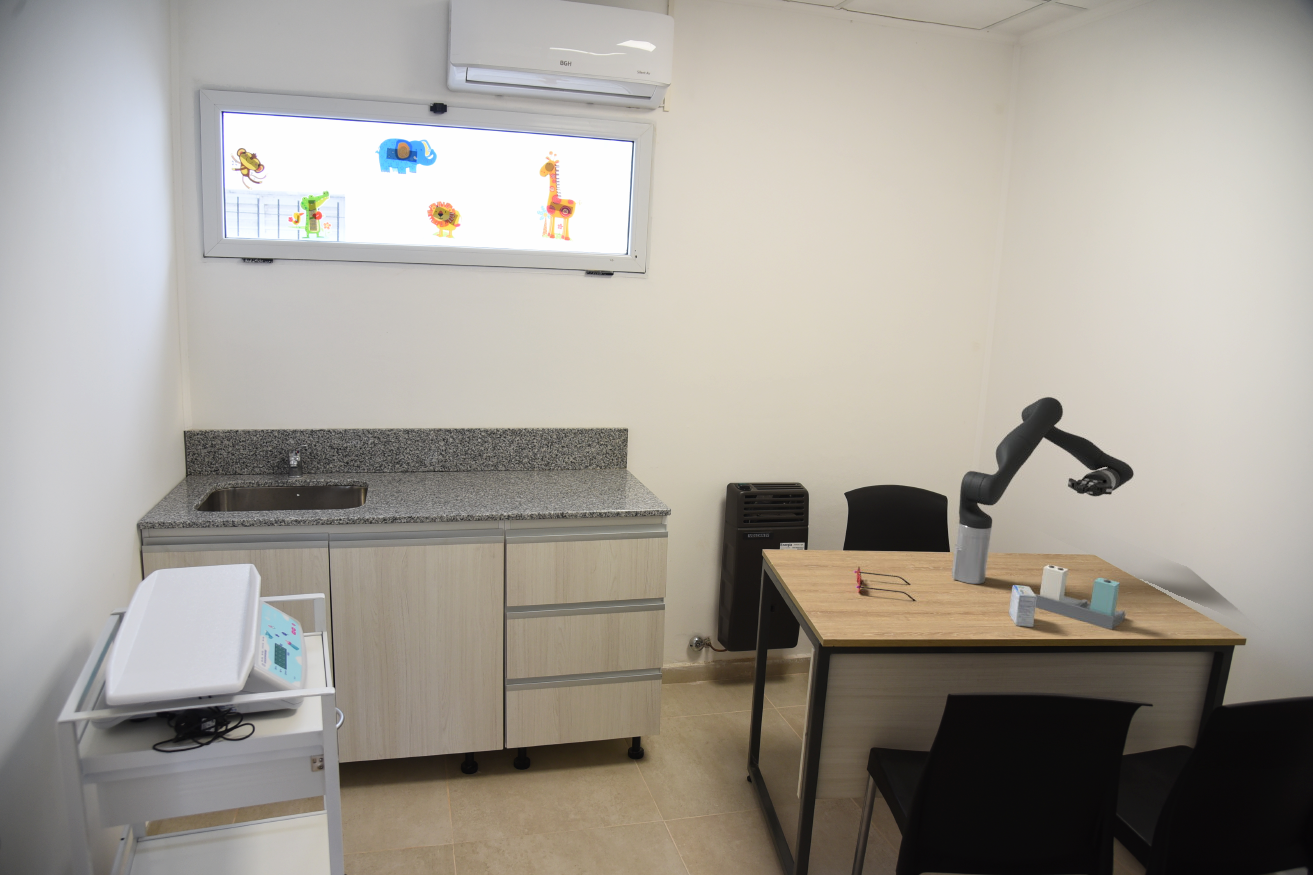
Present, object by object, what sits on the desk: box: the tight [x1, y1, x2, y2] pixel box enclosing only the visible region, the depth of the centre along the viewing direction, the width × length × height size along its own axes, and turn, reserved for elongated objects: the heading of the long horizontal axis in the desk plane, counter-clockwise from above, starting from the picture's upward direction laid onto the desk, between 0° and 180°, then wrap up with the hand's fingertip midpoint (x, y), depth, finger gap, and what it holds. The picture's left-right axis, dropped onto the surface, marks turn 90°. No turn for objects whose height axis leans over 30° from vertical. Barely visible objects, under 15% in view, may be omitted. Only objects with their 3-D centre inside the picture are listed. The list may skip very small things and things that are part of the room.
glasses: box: [854, 566, 917, 602], centre depth 231 cm, size 14×16×5 cm
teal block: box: [1090, 577, 1120, 617], centre depth 213 cm, size 4×5×10 cm
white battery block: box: [1039, 564, 1069, 602], centre depth 222 cm, size 4×5×10 cm
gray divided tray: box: [1034, 593, 1127, 631], centre depth 220 cm, size 12×20×4 cm, turn 45°
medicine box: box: [1008, 584, 1037, 628], centre depth 212 cm, size 8×4×9 cm, turn 168°
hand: (1080, 490), depth 236 cm, fingers closed
